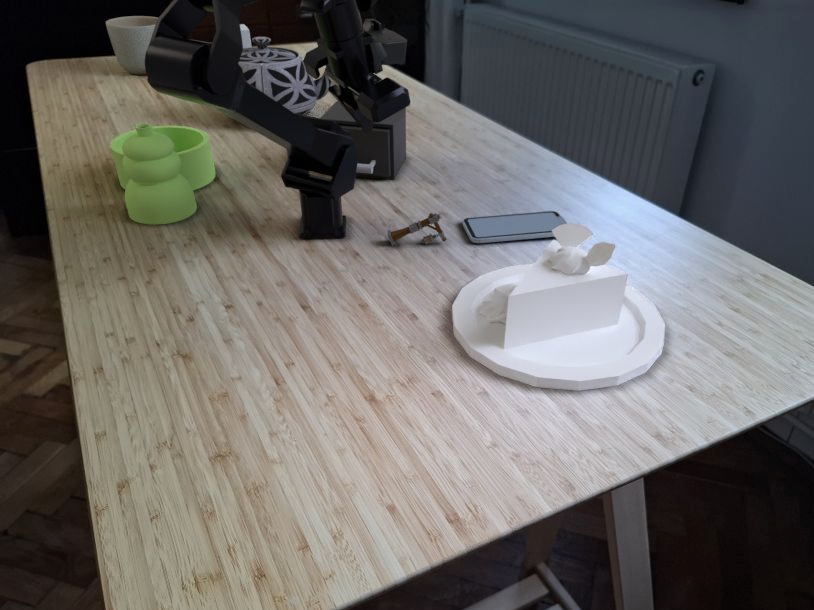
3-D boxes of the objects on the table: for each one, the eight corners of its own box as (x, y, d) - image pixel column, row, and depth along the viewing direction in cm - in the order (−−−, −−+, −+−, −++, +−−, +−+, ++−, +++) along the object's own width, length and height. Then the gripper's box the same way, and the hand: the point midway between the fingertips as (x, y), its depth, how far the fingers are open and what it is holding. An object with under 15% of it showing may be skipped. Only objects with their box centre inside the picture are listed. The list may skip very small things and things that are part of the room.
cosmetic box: (233, 80, 160) (225, 24, 153) (252, 79, 161) (244, 23, 154) (238, 87, 155) (229, 30, 148) (257, 86, 157) (250, 29, 150)
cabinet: (394, 179, 115) (393, 124, 110) (323, 173, 116) (318, 118, 111) (406, 158, 123) (405, 106, 118) (340, 152, 124) (336, 100, 119)
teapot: (357, 129, 135) (353, 48, 126) (193, 135, 129) (176, 50, 120) (347, 101, 150) (343, 26, 141) (199, 105, 143) (185, 27, 135)
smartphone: (461, 217, 102) (556, 210, 105) (460, 223, 103) (556, 215, 106) (472, 239, 96) (573, 231, 99) (472, 246, 97) (572, 237, 100)
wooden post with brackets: (452, 240, 96) (439, 212, 93) (400, 260, 97) (386, 234, 95) (451, 234, 97) (439, 207, 95) (400, 254, 99) (386, 228, 96)
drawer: (384, 186, 111) (382, 139, 106) (317, 180, 112) (313, 133, 107) (400, 157, 121) (399, 114, 117) (339, 152, 122) (336, 109, 118)
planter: (107, 70, 162) (95, 20, 156) (156, 62, 170) (146, 13, 164) (135, 81, 156) (122, 29, 149) (184, 71, 164) (174, 22, 157)
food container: (125, 164, 116) (105, 87, 108) (215, 158, 119) (202, 84, 112) (105, 228, 96) (79, 140, 89) (214, 220, 100) (198, 134, 93)
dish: (543, 254, 96) (552, 176, 89) (703, 330, 81) (728, 245, 75) (408, 317, 81) (407, 230, 75) (574, 423, 67) (591, 327, 60)
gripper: (432, 29, 88) (448, 132, 100) (353, -17, 97) (377, 82, 110) (361, 67, 84) (387, 168, 97) (286, 16, 94) (319, 114, 106)
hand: (368, 130), depth 102 cm, fingers closed
